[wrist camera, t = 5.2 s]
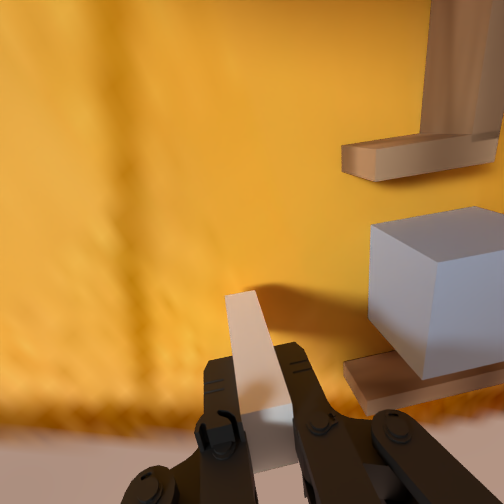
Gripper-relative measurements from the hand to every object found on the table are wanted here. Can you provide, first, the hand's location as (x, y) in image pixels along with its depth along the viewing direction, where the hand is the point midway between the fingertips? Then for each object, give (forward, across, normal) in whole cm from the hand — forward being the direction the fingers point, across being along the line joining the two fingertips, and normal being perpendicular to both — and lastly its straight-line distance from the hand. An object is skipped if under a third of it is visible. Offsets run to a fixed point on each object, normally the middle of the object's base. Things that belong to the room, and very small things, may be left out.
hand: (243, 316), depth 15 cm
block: (+2, +10, 0) cm, 11 cm away
